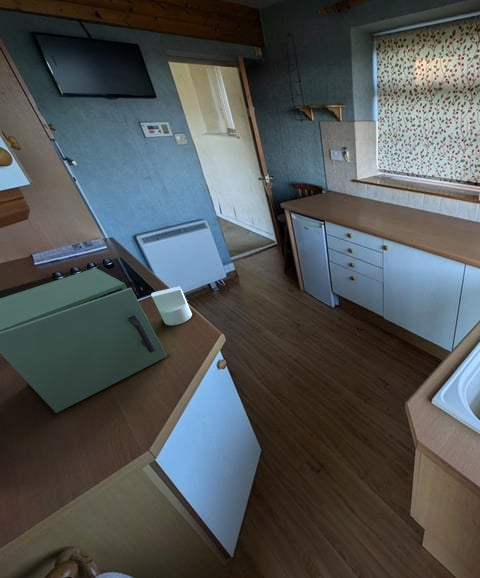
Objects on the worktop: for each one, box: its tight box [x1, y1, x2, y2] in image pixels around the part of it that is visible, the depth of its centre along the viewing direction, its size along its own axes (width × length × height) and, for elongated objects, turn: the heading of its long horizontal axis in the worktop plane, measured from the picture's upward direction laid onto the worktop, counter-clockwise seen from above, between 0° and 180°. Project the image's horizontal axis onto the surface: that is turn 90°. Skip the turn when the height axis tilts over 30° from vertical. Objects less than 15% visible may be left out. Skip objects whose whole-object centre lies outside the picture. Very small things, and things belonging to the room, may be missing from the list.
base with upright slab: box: [150, 285, 193, 326], centre depth 108 cm, size 9×9×12 cm
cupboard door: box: [0, 287, 168, 414], centre depth 77 cm, size 7×26×26 cm, turn 143°
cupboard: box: [0, 267, 128, 332], centre depth 83 cm, size 18×26×26 cm
